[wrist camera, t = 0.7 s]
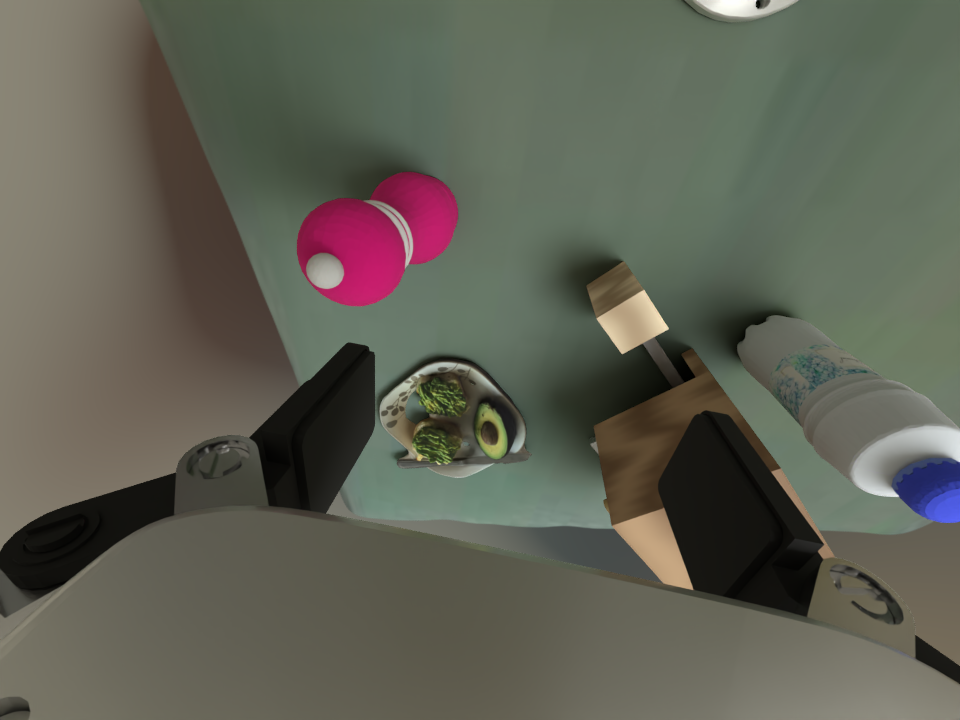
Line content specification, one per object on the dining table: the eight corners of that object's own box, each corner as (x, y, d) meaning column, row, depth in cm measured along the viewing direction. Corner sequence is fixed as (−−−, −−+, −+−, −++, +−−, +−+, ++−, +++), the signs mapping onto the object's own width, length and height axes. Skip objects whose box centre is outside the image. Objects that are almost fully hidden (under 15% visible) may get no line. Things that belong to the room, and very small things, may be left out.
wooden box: (692, 348, 38) (780, 468, 24) (747, 436, 42) (850, 582, 28) (578, 405, 44) (595, 531, 30) (637, 478, 48) (677, 618, 34)
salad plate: (439, 491, 55) (432, 518, 51) (352, 410, 50) (336, 433, 46) (550, 439, 47) (550, 466, 43) (460, 336, 42) (452, 356, 38)
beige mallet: (623, 261, 35) (643, 289, 28) (728, 424, 42) (764, 478, 35) (586, 285, 37) (596, 318, 30) (692, 438, 44) (720, 493, 37)
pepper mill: (448, 262, 37) (370, 362, 20) (381, 232, 37) (241, 309, 20) (474, 189, 34) (405, 236, 16) (400, 155, 33) (248, 167, 16)
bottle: (824, 330, 35) (1088, 505, 18) (763, 379, 39) (938, 565, 22) (771, 294, 34) (997, 443, 17) (713, 347, 38) (855, 516, 21)
